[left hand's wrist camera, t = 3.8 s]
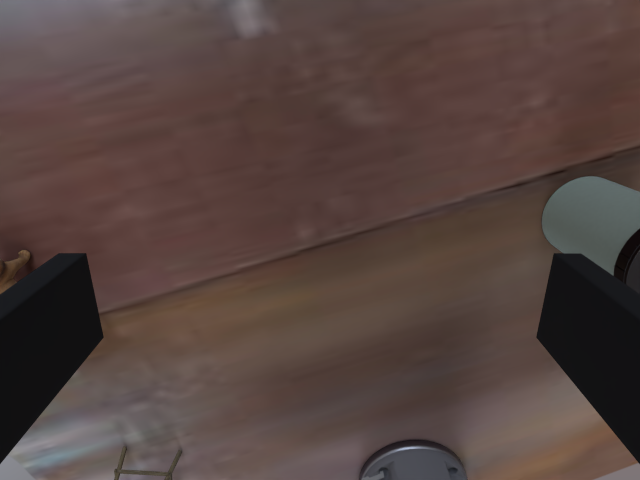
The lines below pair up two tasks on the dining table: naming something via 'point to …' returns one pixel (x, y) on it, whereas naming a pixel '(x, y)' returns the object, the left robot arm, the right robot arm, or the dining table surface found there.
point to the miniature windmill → (167, 474)
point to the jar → (592, 219)
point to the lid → (629, 263)
